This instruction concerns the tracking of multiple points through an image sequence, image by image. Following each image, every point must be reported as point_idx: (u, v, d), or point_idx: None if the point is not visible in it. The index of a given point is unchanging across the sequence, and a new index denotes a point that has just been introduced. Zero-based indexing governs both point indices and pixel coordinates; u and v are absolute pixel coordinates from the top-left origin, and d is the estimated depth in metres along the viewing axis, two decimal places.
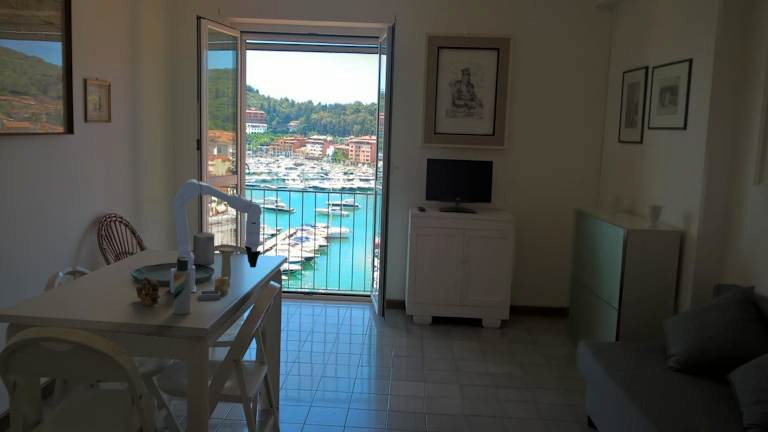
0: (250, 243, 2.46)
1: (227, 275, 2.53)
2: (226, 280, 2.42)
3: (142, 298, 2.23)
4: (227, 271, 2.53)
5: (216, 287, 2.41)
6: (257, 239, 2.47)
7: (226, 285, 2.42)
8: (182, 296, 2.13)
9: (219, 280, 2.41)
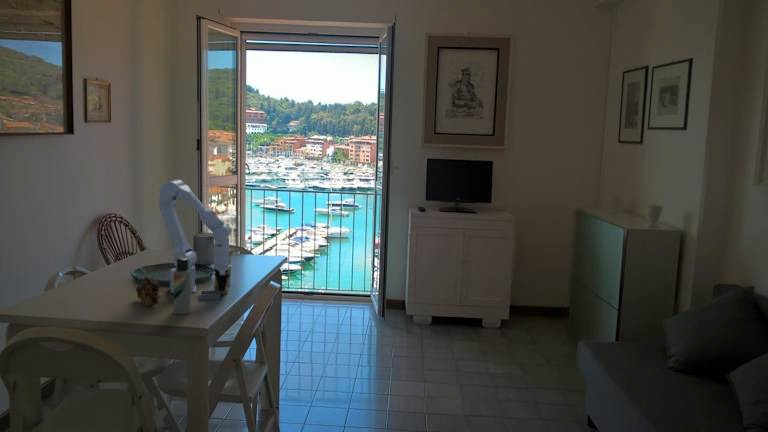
0: (218, 266, 2.39)
1: None
2: None
3: (142, 298, 2.23)
4: (227, 271, 2.53)
5: (216, 287, 2.41)
6: (226, 262, 2.40)
7: (226, 285, 2.42)
8: (182, 296, 2.13)
9: None
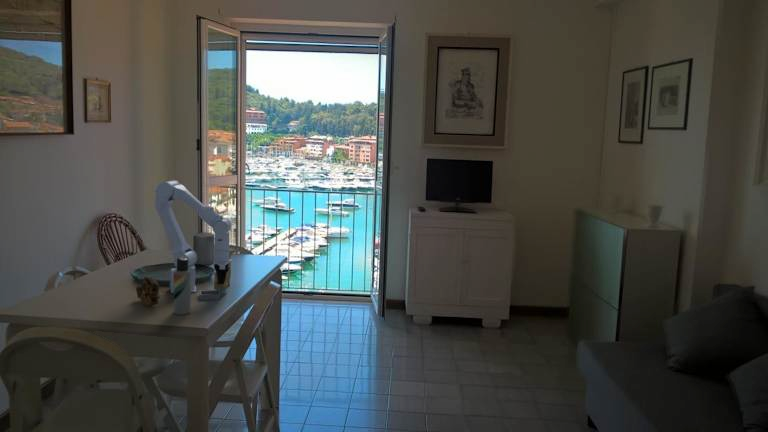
0: (218, 260, 2.39)
1: None
2: (226, 275, 2.42)
3: (142, 298, 2.23)
4: None
5: (216, 282, 2.41)
6: (226, 256, 2.40)
7: (226, 280, 2.42)
8: (182, 296, 2.13)
9: None
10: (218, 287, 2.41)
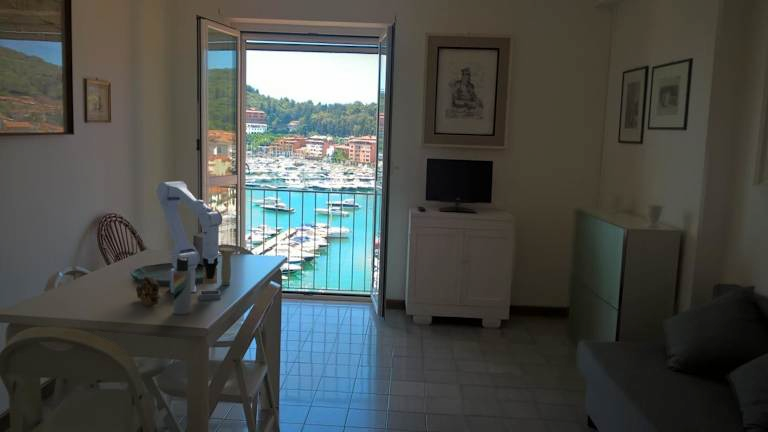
0: (207, 254, 2.31)
1: (227, 275, 2.53)
2: (215, 269, 2.34)
3: (142, 298, 2.23)
4: (227, 271, 2.53)
5: (205, 277, 2.33)
6: (215, 250, 2.32)
7: (215, 275, 2.34)
8: (182, 296, 2.13)
9: None
10: (207, 282, 2.33)
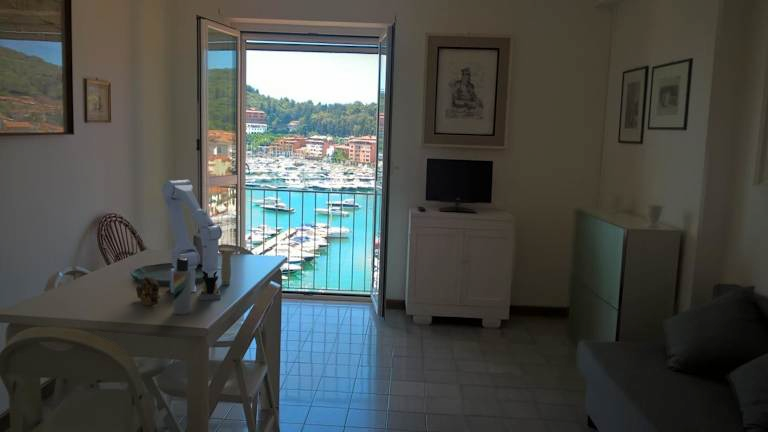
0: (207, 268, 2.31)
1: (227, 275, 2.53)
2: (215, 285, 2.34)
3: (142, 298, 2.23)
4: (227, 271, 2.53)
5: (204, 292, 2.34)
6: (215, 264, 2.32)
7: (215, 290, 2.35)
8: (182, 296, 2.13)
9: None
10: None
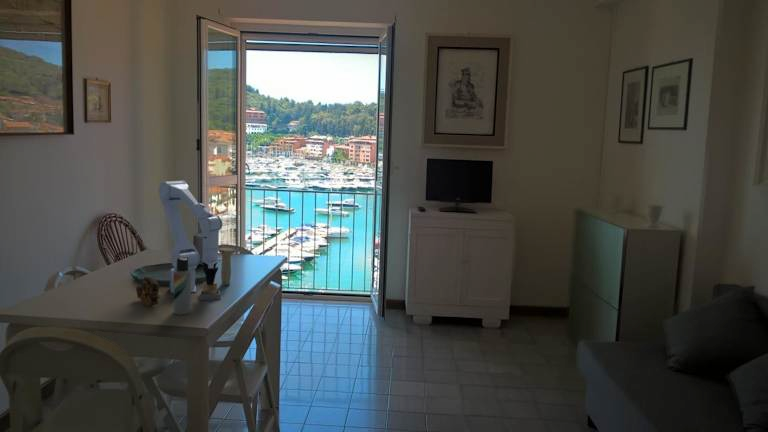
0: (207, 259, 2.31)
1: (227, 275, 2.53)
2: (215, 285, 2.34)
3: (142, 298, 2.23)
4: (227, 271, 2.53)
5: (204, 292, 2.34)
6: (215, 255, 2.32)
7: (215, 290, 2.35)
8: (182, 296, 2.13)
9: (208, 285, 2.34)
10: None
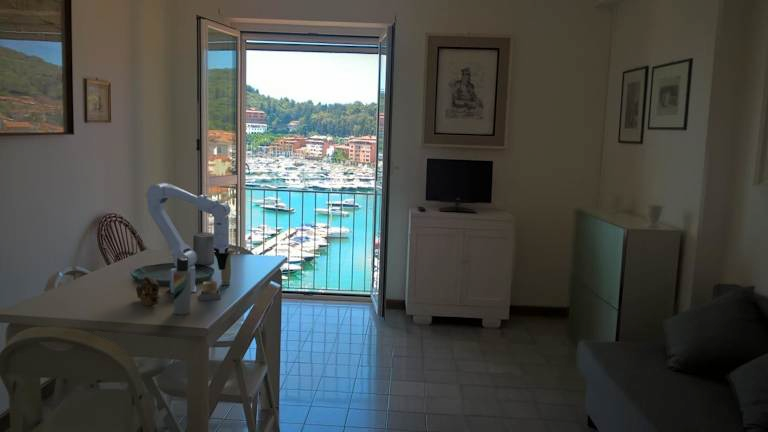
0: (218, 245, 2.38)
1: (227, 275, 2.53)
2: (215, 285, 2.34)
3: (142, 298, 2.23)
4: (227, 271, 2.53)
5: (204, 292, 2.34)
6: (225, 240, 2.39)
7: (215, 290, 2.35)
8: (182, 296, 2.13)
9: (208, 285, 2.34)
10: None
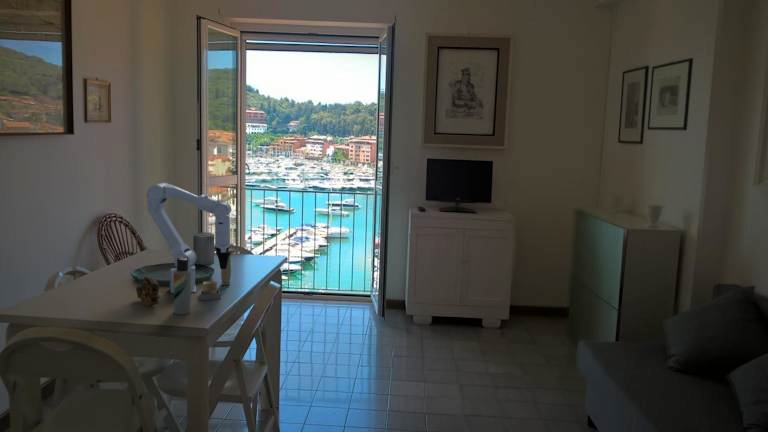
0: (220, 244, 2.39)
1: (227, 275, 2.53)
2: (215, 285, 2.34)
3: (142, 298, 2.23)
4: (227, 271, 2.53)
5: (204, 292, 2.34)
6: (227, 240, 2.40)
7: (215, 290, 2.35)
8: (182, 296, 2.13)
9: (208, 285, 2.34)
10: None
